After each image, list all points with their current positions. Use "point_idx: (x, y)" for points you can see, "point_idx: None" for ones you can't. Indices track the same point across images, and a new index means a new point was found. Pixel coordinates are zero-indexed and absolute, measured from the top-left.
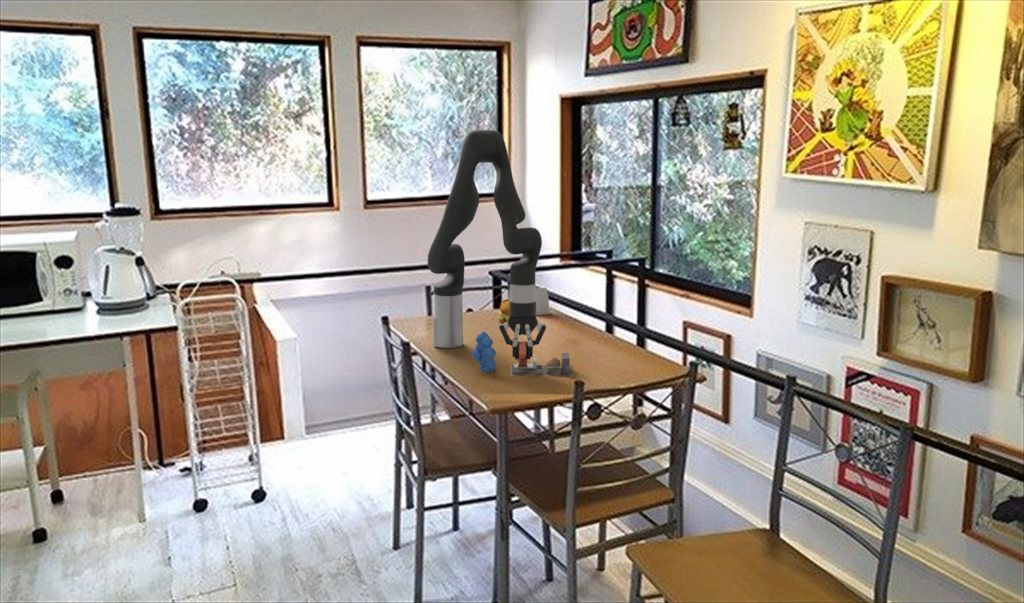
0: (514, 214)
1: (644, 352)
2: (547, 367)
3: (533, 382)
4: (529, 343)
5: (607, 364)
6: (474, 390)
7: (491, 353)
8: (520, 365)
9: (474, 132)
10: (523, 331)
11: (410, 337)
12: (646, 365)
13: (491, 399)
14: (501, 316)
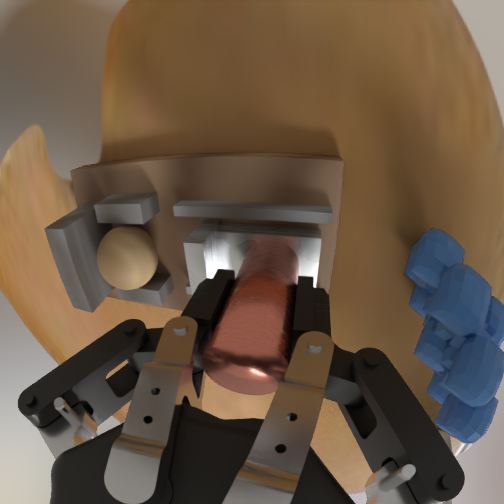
0: None
1: (52, 357)
2: (140, 206)
3: (224, 143)
4: (185, 337)
5: (65, 315)
6: (478, 64)
7: (472, 276)
8: (282, 247)
9: None
10: (204, 443)
11: (453, 448)
12: (19, 294)
13: None
14: None
